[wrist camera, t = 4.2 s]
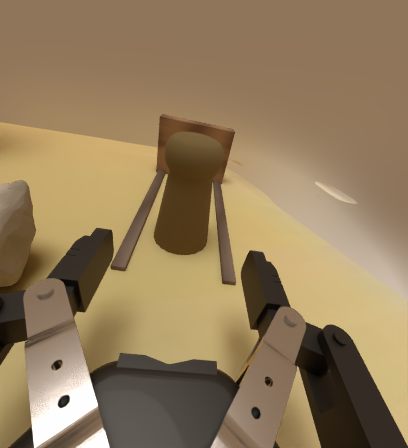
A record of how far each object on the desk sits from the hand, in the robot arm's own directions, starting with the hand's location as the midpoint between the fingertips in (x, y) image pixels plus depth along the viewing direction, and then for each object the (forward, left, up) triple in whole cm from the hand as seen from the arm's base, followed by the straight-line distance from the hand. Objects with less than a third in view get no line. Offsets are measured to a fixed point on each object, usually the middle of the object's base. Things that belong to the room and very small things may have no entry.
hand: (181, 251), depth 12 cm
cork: (0, +10, -7) cm, 12 cm away
